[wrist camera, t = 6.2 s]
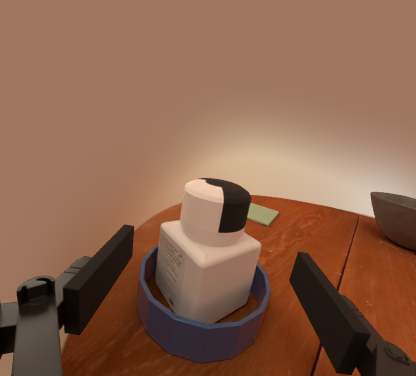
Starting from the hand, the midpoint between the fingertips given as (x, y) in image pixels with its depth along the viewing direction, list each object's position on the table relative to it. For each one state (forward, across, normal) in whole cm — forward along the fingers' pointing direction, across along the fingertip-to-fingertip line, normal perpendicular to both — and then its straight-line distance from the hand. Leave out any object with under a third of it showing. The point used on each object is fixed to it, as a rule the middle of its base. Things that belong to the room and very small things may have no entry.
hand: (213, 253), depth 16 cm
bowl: (+28, +46, -9) cm, 55 cm away
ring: (+4, 0, -8) cm, 10 cm away
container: (+5, 0, -9) cm, 10 cm away
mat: (+34, +11, -8) cm, 37 cm away
